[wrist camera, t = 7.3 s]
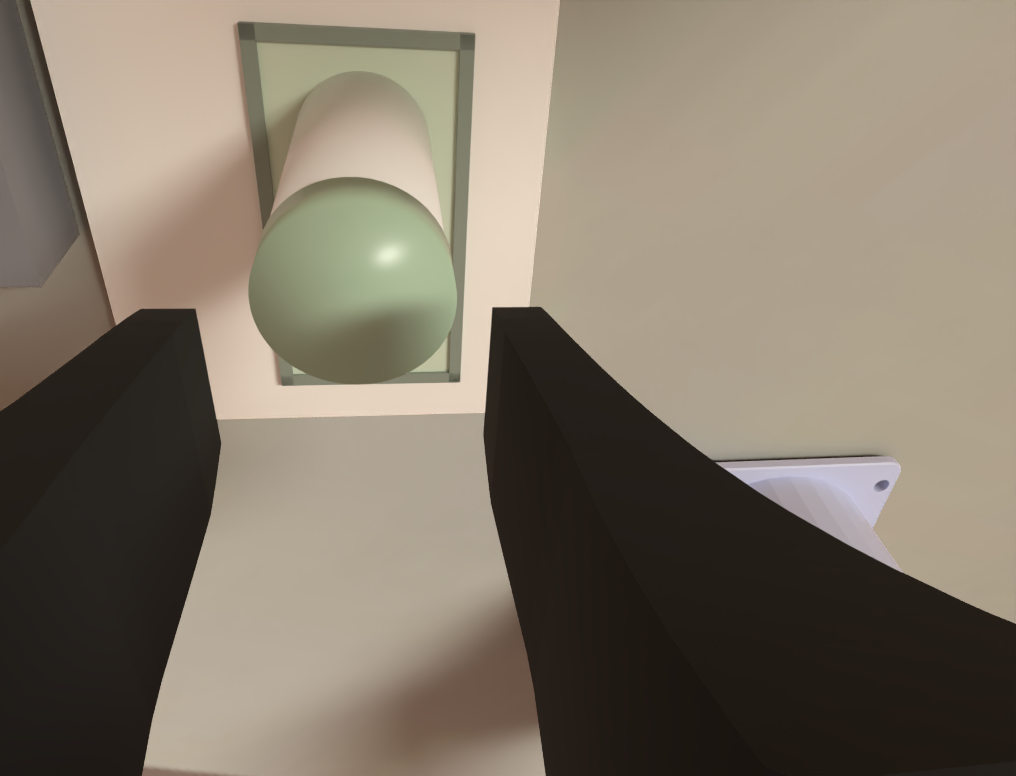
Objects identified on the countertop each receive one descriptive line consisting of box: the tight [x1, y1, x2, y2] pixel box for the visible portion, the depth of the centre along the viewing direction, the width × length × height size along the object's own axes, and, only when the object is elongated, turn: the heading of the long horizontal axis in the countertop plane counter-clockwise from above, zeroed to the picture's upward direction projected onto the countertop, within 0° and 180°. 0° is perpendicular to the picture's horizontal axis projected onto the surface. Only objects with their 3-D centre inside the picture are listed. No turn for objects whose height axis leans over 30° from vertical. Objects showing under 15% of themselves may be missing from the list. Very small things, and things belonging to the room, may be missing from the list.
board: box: [30, 0, 560, 419], centre depth 18 cm, size 11×10×1 cm
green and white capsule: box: [248, 71, 457, 385], centre depth 14 cm, size 3×3×7 cm
